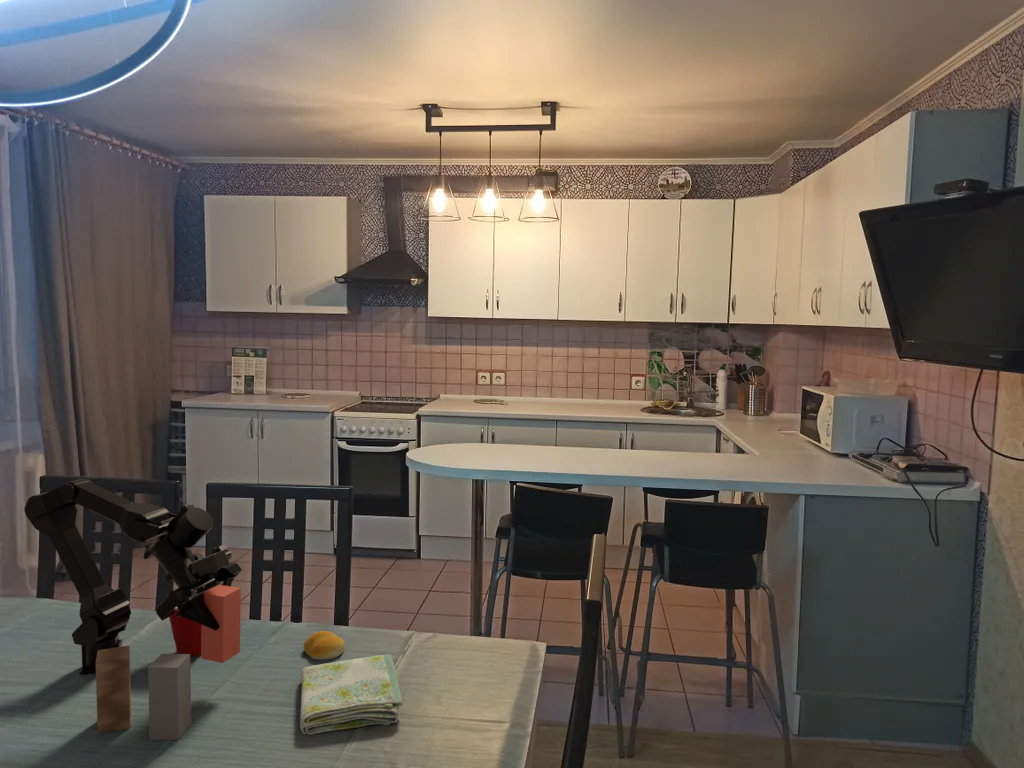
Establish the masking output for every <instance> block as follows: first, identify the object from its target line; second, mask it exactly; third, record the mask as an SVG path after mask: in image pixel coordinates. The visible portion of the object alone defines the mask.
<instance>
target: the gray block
mask: <svg viewBox="0 0 1024 768" xmlns="http://www.w3.org/2000/svg"><path fill="white" fill-rule="evenodd" d="M147 668H148V669H147V671H148V673H147V674H148V676H147V677H148V717H149V718H148V719H149V720H148V721H149V722H148V724H149V740H150V741H151V740H153V741H179V740H180V739H181V738H182V736H183V735H184V734H185V733H186V731H187V730H188V729H189V727H190V726H191V725H192V690H191V684H192V683H191V677H192V676H191V657H190V654H178V653H161V654H159V656H158V657H157V658H156V659H155V660H153V662H152V663H151V664H150V665H149V666H148V667H147ZM190 724H191V725H190ZM158 739H159V740H158ZM161 739H163V740H161ZM164 739H166V740H164Z"/></svg>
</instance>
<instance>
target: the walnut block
mask: <svg viewBox="0 0 1024 768" xmlns="http://www.w3.org/2000/svg"><path fill="white" fill-rule="evenodd" d="M130 648H131V647H130V645H122V647H116V648H110V649H103V650H98V652H97V658H96V673H95V684H96V685H95V686H96V719H97V720H96V721H97V724H96V725H97V735H101V734H105V733H111V732H115V731H121V730H126V729H131V723H132V722H131V721H132V720H131V719H132V701H131V700H132V699H131V698H132V697H131V689H132V688H131V658H130V657H131V655H130V653H131V652H130Z"/></svg>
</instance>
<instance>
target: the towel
mask: <svg viewBox="0 0 1024 768" xmlns="http://www.w3.org/2000/svg"><path fill="white" fill-rule="evenodd" d="M402 705H403V698H402V694H401V690H400V686H399V680H398V675H397V672H396V667H395V664H394V659H393V657H392V654H389V653H388V654H380V655H372V656H367V657H360V658H354V659H353V658H352V659H346V660H339V661H333V662H332V661H331V662H328V663H327V662H326V663H321V664H315V665H309V666H306V667H304V668H302V669H301V695H300V715H299V720H300V721H299V727H300V730H301V733H302V734H304V735H305V734H307V735H309V736H310V735H314V734H315V735H316V734H320V733H326V732H333V731H340V730H347V729H354V728H361V727H365V726H373V725H383V726H389V725H391V724H392V723H395V724H397V723H398V722H400V719H401V717H400V711H399V708H400V707H399V706H402Z"/></svg>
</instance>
